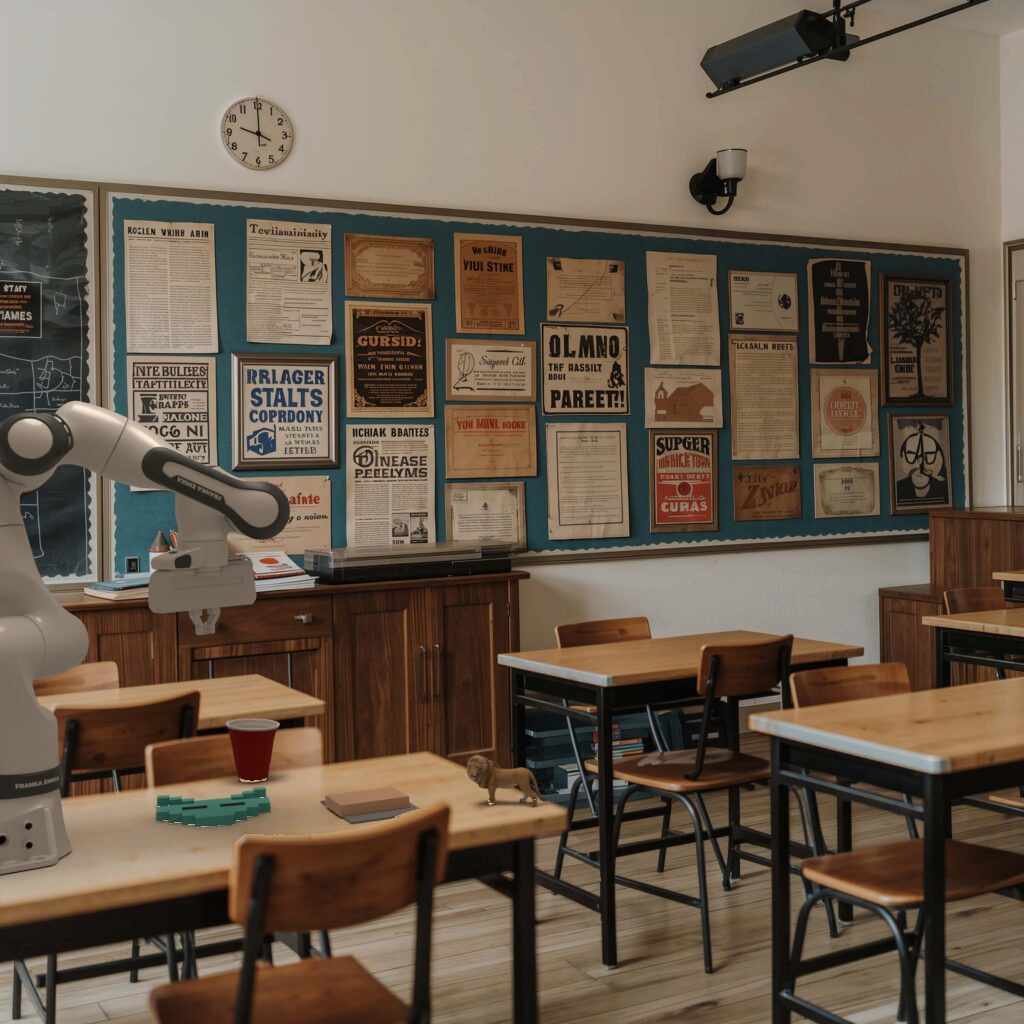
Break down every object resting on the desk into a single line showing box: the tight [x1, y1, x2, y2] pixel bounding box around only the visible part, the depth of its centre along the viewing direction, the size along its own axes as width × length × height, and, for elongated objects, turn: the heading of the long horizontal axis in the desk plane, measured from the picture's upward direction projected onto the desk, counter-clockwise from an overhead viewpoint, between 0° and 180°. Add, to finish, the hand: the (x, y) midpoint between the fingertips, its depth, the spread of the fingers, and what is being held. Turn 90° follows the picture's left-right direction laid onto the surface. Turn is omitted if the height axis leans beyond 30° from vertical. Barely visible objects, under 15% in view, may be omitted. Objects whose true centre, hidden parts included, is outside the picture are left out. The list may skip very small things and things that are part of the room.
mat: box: [320, 799, 420, 825], centre depth 225 cm, size 14×18×1 cm
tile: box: [324, 786, 410, 818], centre depth 225 cm, size 2×9×13 cm
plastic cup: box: [225, 718, 281, 781], centre depth 250 cm, size 11×11×12 cm
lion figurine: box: [466, 755, 548, 807], centre depth 226 cm, size 15×5×9 cm, turn 86°
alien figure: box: [155, 786, 271, 828], centre depth 224 cm, size 20×2×20 cm
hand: (205, 634), depth 220 cm, fingers closed
